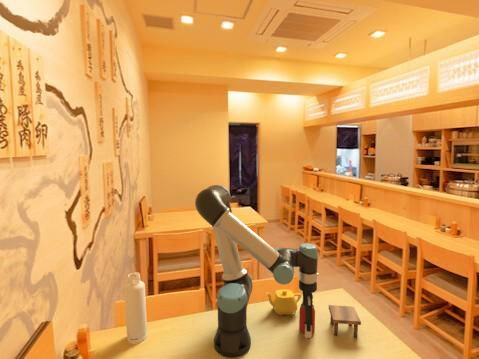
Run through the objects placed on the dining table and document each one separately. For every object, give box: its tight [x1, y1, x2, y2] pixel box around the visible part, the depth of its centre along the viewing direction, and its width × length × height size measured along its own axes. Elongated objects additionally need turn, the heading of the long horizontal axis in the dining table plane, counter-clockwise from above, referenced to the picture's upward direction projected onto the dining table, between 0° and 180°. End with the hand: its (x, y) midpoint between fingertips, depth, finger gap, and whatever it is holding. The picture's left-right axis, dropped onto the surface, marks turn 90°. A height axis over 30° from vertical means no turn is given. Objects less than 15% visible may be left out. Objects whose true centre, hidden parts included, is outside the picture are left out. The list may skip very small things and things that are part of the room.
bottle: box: [123, 271, 148, 345], centre depth 116 cm, size 8×8×28 cm
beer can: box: [298, 302, 316, 336], centre depth 120 cm, size 7×7×12 cm
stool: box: [328, 304, 362, 339], centre depth 121 cm, size 11×11×8 cm
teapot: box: [265, 289, 302, 317], centre depth 135 cm, size 18×11×11 cm, turn 95°
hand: (306, 328), depth 121 cm, fingers open, 10 cm apart
